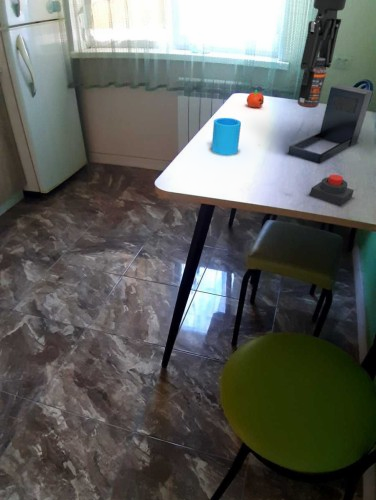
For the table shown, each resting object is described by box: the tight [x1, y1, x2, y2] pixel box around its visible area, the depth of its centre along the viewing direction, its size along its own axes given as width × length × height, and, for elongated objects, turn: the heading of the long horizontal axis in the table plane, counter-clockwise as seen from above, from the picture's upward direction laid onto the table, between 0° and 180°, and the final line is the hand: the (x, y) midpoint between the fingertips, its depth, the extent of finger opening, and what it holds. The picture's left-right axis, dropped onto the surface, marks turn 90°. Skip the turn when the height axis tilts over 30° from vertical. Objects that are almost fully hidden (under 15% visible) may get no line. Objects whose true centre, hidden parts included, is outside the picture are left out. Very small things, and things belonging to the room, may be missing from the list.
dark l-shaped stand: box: [287, 84, 374, 164], centre depth 134 cm, size 12×28×16 cm, turn 140°
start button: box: [327, 174, 344, 186], centre depth 108 cm, size 4×4×2 cm
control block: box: [309, 176, 355, 207], centre depth 110 cm, size 9×7×4 cm
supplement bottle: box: [297, 56, 327, 109], centre depth 113 cm, size 6×6×11 cm
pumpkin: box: [246, 89, 265, 108], centre depth 170 cm, size 7×8×6 cm
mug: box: [211, 117, 242, 156], centre depth 132 cm, size 13×9×9 cm
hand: (309, 95), depth 115 cm, fingers closed on supplement bottle, 6 cm apart
